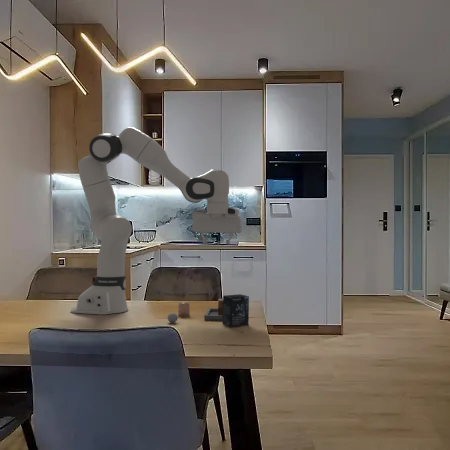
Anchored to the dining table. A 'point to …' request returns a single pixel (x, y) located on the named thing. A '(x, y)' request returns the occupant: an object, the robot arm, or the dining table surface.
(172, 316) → the grey ball
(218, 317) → the slate tray
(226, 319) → the box
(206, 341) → the dining table surface
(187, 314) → the wooden block
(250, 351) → the dining table surface
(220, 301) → the walnut cube
